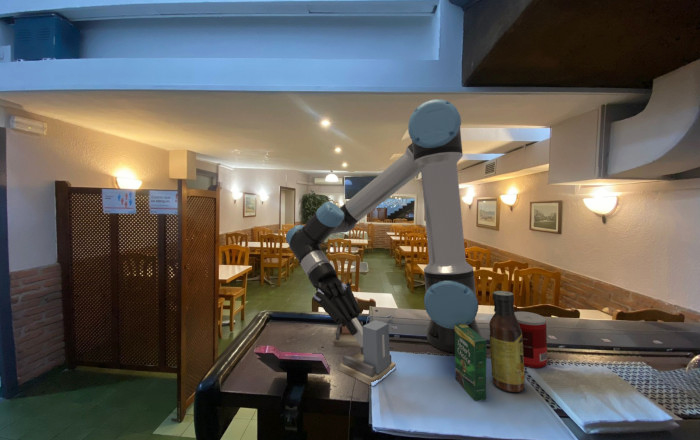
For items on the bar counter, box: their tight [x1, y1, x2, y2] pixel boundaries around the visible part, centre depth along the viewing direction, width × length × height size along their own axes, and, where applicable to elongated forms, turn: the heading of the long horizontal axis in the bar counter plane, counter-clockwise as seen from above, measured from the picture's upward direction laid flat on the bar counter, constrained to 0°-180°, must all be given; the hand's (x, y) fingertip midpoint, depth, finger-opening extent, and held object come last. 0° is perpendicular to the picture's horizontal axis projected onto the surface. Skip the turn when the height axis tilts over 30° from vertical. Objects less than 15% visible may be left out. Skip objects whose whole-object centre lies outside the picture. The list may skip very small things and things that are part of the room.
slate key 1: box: [362, 319, 391, 374], centre depth 65 cm, size 4×5×10 cm
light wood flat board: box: [333, 321, 397, 386], centre depth 76 cm, size 13×32×4 cm, turn 15°
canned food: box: [514, 311, 548, 369], centre depth 68 cm, size 8×8×11 cm
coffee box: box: [454, 324, 487, 402], centre depth 58 cm, size 8×3×13 cm, turn 7°
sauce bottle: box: [488, 290, 526, 393], centre depth 59 cm, size 7×6×20 cm
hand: (366, 343), depth 67 cm, fingers closed
